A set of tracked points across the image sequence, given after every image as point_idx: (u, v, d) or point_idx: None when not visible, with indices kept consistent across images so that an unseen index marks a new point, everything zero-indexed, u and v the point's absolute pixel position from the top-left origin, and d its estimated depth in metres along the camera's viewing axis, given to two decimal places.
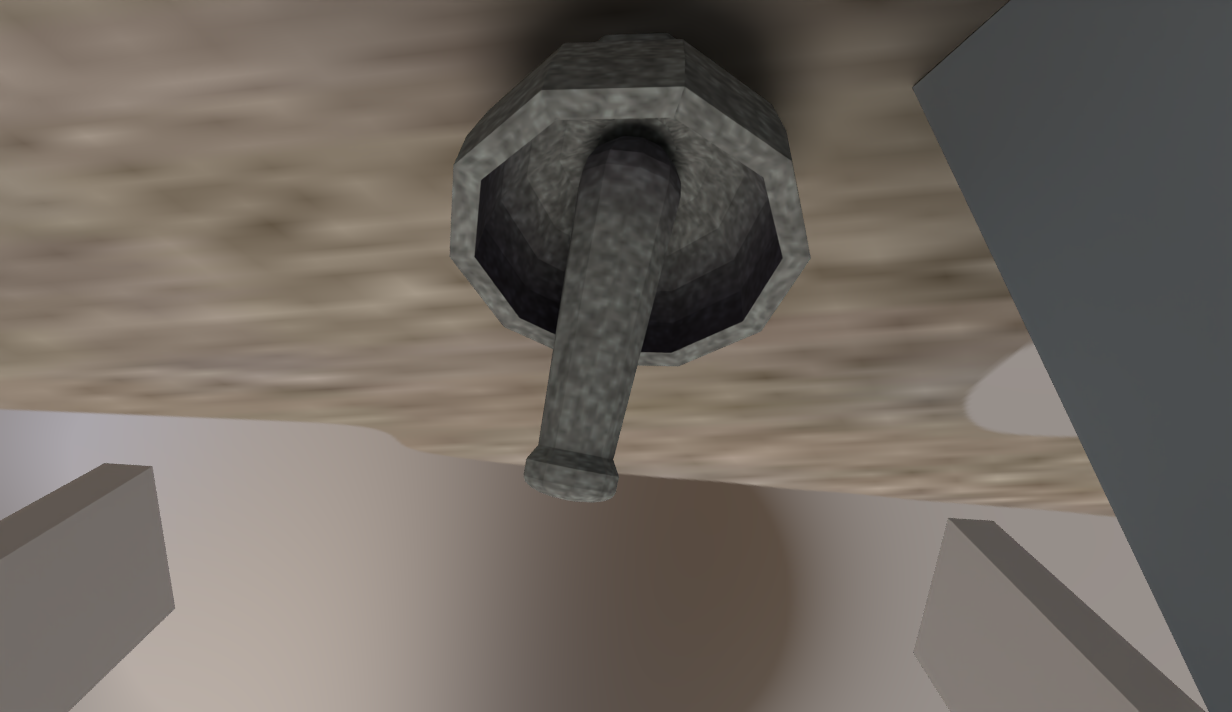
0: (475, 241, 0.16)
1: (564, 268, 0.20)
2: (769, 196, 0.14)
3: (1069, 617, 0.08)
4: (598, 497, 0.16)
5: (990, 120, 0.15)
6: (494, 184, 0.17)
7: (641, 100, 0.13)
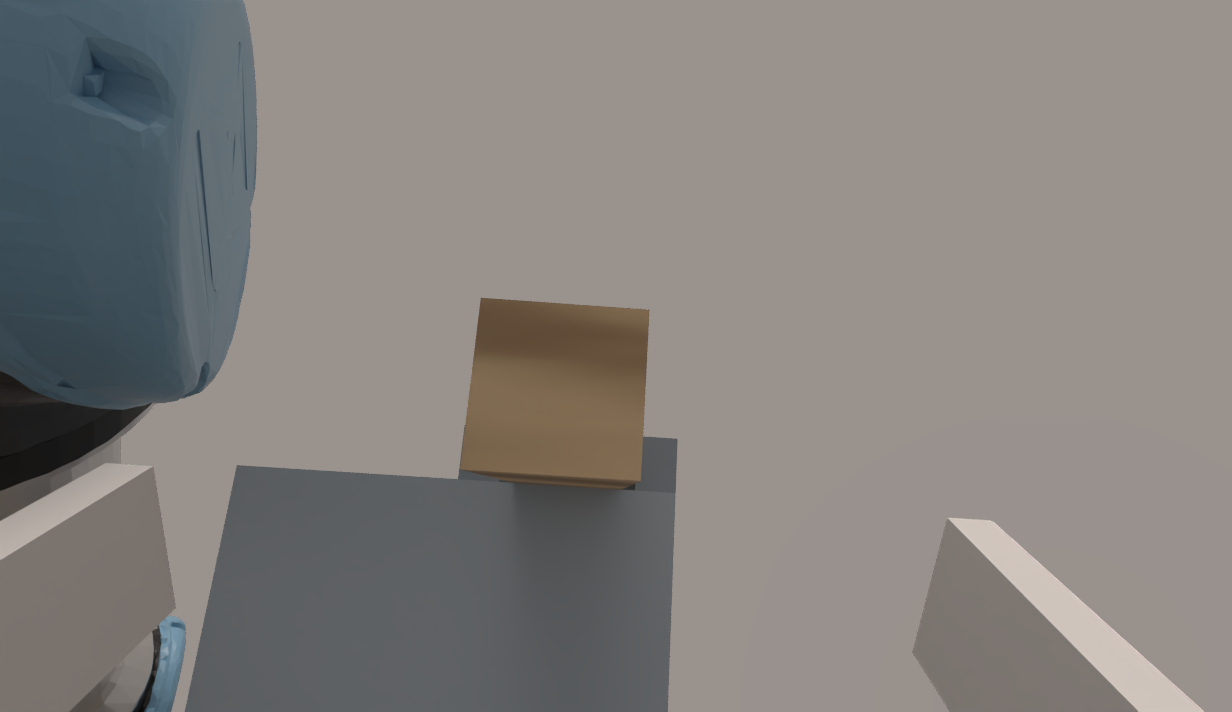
0: None
1: None
2: None
3: (1068, 617, 0.08)
4: None
5: None
6: None
7: None
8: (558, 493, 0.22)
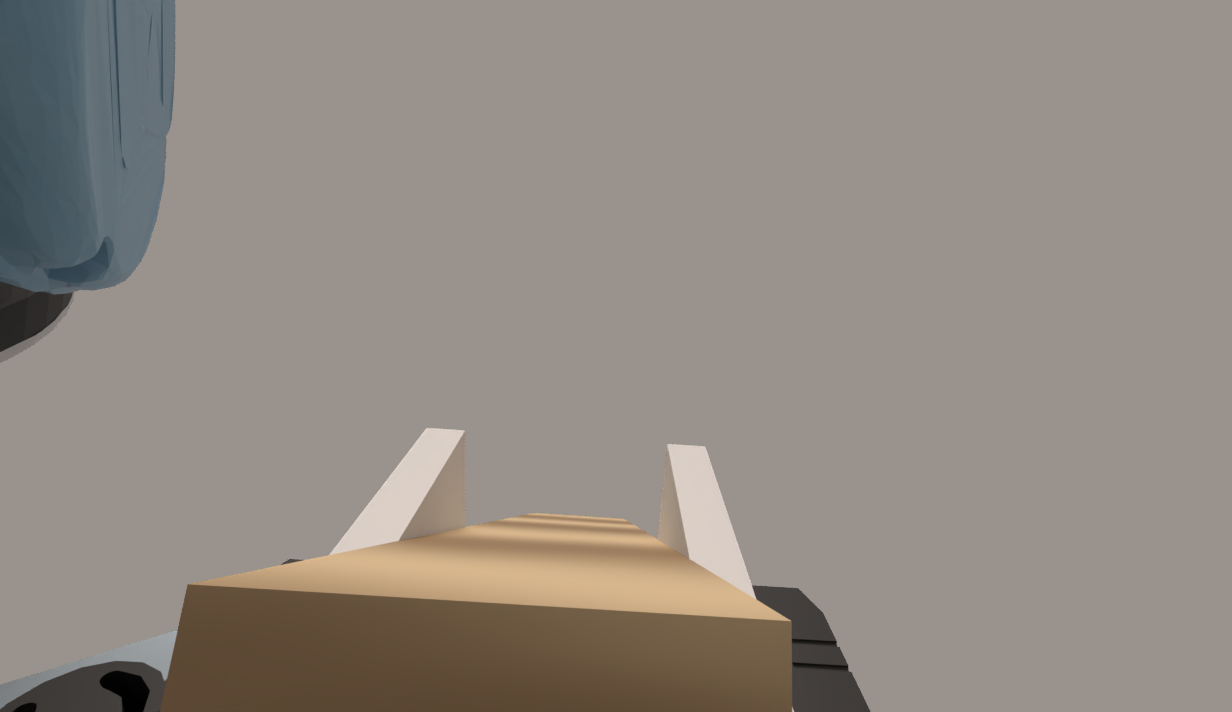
0: None
1: None
2: None
3: (698, 505, 0.10)
4: None
5: None
6: None
7: None
8: None
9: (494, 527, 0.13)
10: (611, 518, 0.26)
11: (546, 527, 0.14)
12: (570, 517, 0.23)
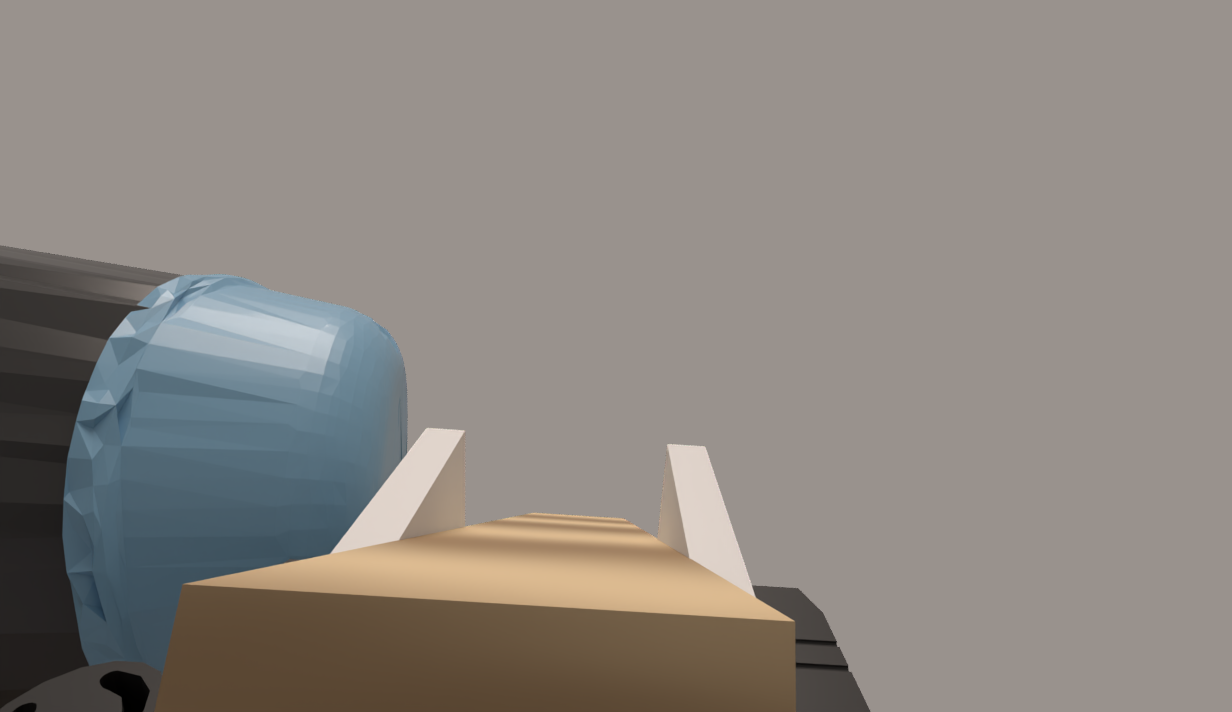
0: None
1: None
2: None
3: (698, 505, 0.10)
4: None
5: None
6: None
7: None
8: None
9: (494, 527, 0.13)
10: None
11: (546, 527, 0.14)
12: (570, 517, 0.23)
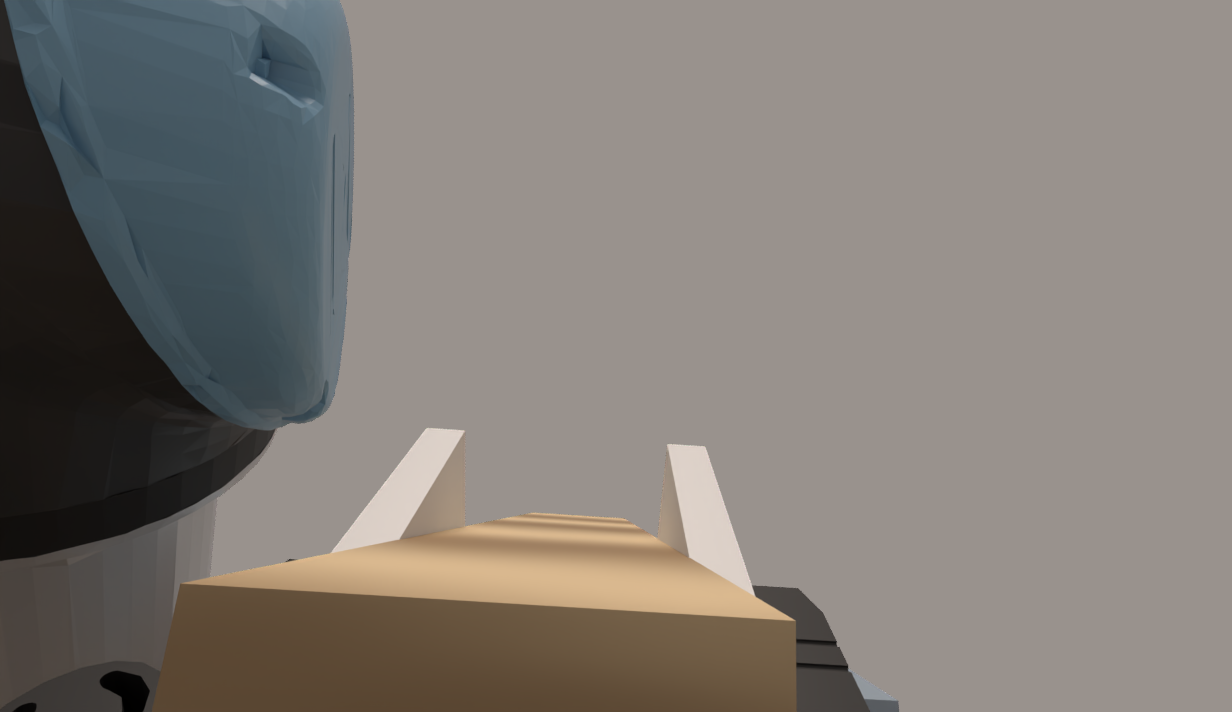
0: None
1: None
2: None
3: (698, 505, 0.10)
4: None
5: None
6: None
7: None
8: None
9: (493, 526, 0.13)
10: None
11: (546, 526, 0.14)
12: None
